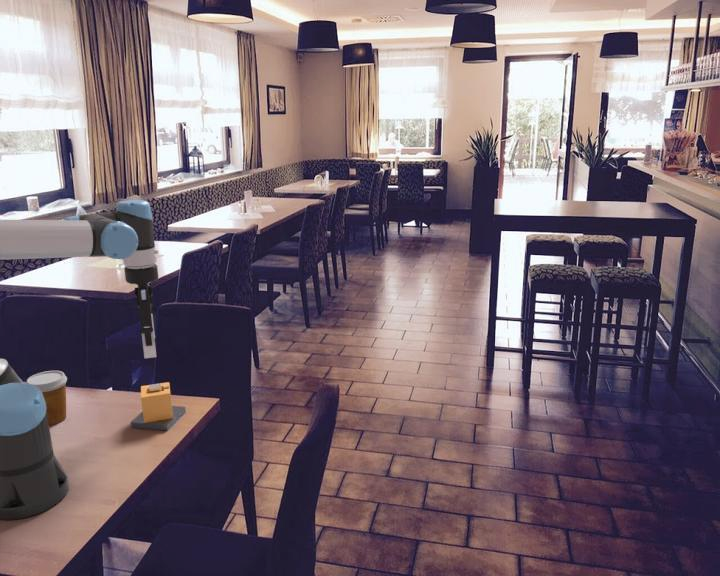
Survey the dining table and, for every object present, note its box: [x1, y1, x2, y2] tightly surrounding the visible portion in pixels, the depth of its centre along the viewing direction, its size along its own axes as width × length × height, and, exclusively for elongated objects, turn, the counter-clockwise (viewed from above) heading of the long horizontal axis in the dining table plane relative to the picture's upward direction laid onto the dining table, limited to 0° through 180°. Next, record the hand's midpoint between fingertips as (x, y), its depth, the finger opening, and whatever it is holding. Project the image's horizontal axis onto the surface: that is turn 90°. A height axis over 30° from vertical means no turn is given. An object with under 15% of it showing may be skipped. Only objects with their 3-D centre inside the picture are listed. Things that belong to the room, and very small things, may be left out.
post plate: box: [130, 383, 187, 432], centre depth 154 cm, size 10×10×10 cm
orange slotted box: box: [140, 382, 173, 423], centre depth 154 cm, size 7×7×7 cm
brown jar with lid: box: [26, 370, 68, 426], centre depth 155 cm, size 10×10×12 cm
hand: (150, 347), depth 150 cm, fingers open, 13 cm apart
